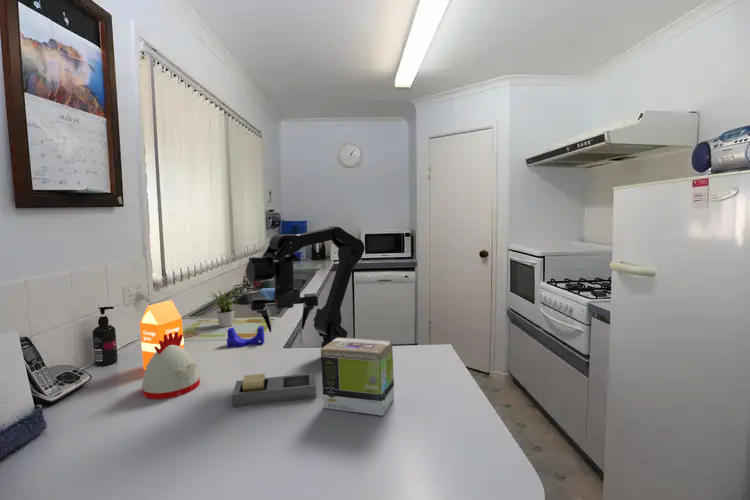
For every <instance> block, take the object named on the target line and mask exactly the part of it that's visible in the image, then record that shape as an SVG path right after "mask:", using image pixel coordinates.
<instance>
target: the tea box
mask: <svg viewBox="0 0 750 500" xmlns="http://www.w3.org/2000/svg"><path fill="white" fill-rule="evenodd" d="M393 351H394V350H393V340H388V339H387V340H386V339H385V340H384V339H370V338H357V337H356V338H355V337H353V338H352V337H351V338H350V337H346V338H340V337H337V338H336V339H334V340H333V341H332V342H330V343H329V344H327V345H326V346H324V347H323V348H321V347H320V360H321V361H320V363H321V364H320V365H321V384H322V385H321V387H322V401H323V402H322V404H323V408H324V409H330V410H337V411H338V410H339V411H345V412H350V413H351V412H353V413H360V414H367V415H375V416H381V417H382V416H384V414H385V412H386V411H387V410H388V408H389V407H390V405H391V403H392V402H393V401H394V399H395V382H394V381H395V378H394V377H395V374H394V356H393V355H394V354H393Z"/></svg>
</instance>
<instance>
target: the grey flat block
mask: <svg viewBox="0 0 750 500" xmlns="http://www.w3.org/2000/svg"><path fill="white" fill-rule="evenodd" d="M315 377H316V376H315V372H312V373H311V372H310V373H302V374H301V373H300V374H292V375H291V374H290V375H283V376H281V375H280V376H273V377H270V376H269V377H265V387H266V390H258V391H249V392H243V386H242V383H243V380H244V379H243V380H237V381H236V382H235V385H234V387H233V391H232V394H231V403H232V408H237V407H245V406H254V405H264V404H271V403H280V402H289V401H296V400H305V399H316V398H317V384H316V378H315Z"/></svg>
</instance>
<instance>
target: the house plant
mask: <svg viewBox="0 0 750 500" xmlns="http://www.w3.org/2000/svg"><path fill="white" fill-rule="evenodd" d="M227 291H228V290H225V291H224V294H222V293H221V291H220V290H219V289H218V290H217V292H218V294H219V296H218V295H217V294H216V293H215V292H214V291H211V290H210V292H211V293H210V295H212V296H210V295H209V296H207V297H209V298H212V299H214V302H213V304H211V305H212V309H215V308H217V309H218V310H217V311H216V316H217V321H218V324H219V327H220V326H221V327H220V328H227V327H226V326H229V327H231V326H230V325H232V324H234V317H235V316H234V315H235V309H233V304H234V305H236V304H237V300H233V298H234V297H235V296H236V294H237V293H239V292H240V290H237V291H236V292H235V293H232V291H230V293H229V295H228V297H227V299H226V292H227ZM213 296H214V297H213ZM232 300H233V301H232ZM232 326H233V325H232Z"/></svg>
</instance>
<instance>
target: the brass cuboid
mask: <svg viewBox="0 0 750 500" xmlns="http://www.w3.org/2000/svg"><path fill="white" fill-rule="evenodd" d="M265 378H266V373H257V374H248V375H243V383H242V386H243V392H249V391H258V390H266V387H265Z"/></svg>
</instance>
